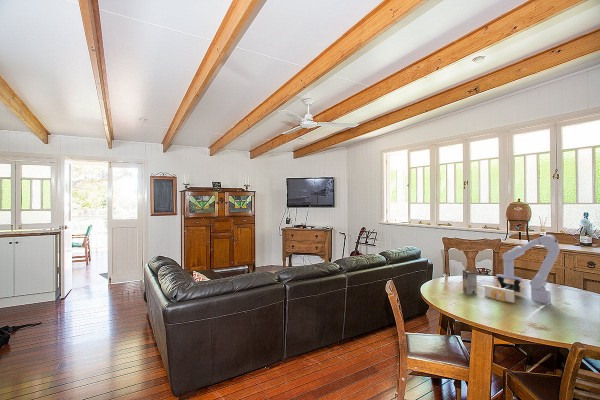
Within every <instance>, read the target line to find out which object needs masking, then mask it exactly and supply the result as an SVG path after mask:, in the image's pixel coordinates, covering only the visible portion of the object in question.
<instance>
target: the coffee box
mask: <svg viewBox="0 0 600 400" xmlns="http://www.w3.org/2000/svg"><path fill="white" fill-rule="evenodd" d="M477 279H478V277H477V272H475V271H473V270H470V269H467V270H465V269H463V270H462V293H464V294H465V293H466V294H467V295H478V293H477V291H478V289H477V288H478V287H477V286H478V285H477V283H478V282H477V281H478V280H477Z"/></svg>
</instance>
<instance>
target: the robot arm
mask: <svg viewBox="0 0 600 400" xmlns="http://www.w3.org/2000/svg"><path fill="white" fill-rule="evenodd" d="M541 245H542V246H544V248H545V249H546V250H547V253H546V256H544V260H543V262H542V263H541V265H540V268H539V270H538V271H537V273H536V275H535V276H534V277H533V278H532V279H531V280H530V281H529V285H530V297H531V301H534V302H537V303H543V304H542V306H546V307H548V306H549V305H551V304H552V299H551V298H552V297H551V296H552V293H551V291H550V290H548V289H546V285H547V279H548V275H549V273H550V272H551V269H552V268H553V266H554V264H555V262H556V260H557V259H558V256H559V254H560V252H561V250H560V245H559V240H558V239H557V238H556V236H555V235H553V234H546V235H541V236H540V237H535V238H534V239H532V240H530V241H529V242H527V243H525V244H523V245H522V246H520V245H517V246H516V245H515V246H513V248H512V249H509V250H507V252H504V253H503V254H502V255H501V259H502V260H503V274H502V273H501V274H498V273H497V274H496V275H495V277H496V278H497V281H498V283H499V285H500V288H504V282H505V281H504V280H505V279H507V280H513V284H514V286H515V288H514V290H515V291H517V288H518V285H520V284H521V282H522V281H523V278H522V277H518V276H515V268H514V267H515V266H514V265H515V261H514V260H515V259H517V258H519V257H521V256H522V255H524V254H525V253H526V251H527V250H529V249H531V248H534V247H535V246H541ZM515 291H514V292H515Z"/></svg>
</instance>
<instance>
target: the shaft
mask: <svg viewBox="0 0 600 400" xmlns="http://www.w3.org/2000/svg"><path fill="white" fill-rule="evenodd" d="M514 288H515V286H514V283H509V282H505V281H504V288H503V289H508V290H513V291H514V293H515V292H516V293H521V292H522V291H521V285H520V284H519V285H518V288H517V291H515V290H514ZM498 291H500V290H498Z"/></svg>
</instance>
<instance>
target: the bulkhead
mask: <svg viewBox="0 0 600 400" xmlns="http://www.w3.org/2000/svg"><path fill="white" fill-rule="evenodd" d="M491 290H496V291H499V290H500V291H501V292H505V301H504V302H507V303H513V304H514V303H515V291H513V290H508V289H503V288H501V287H497V286H492V285H489V284H488V285H487V284H485V285H484V297H486V298H491ZM496 299H499V300H498V301H500V300H501V295H500V294H496V293H495V299H494V300H496Z"/></svg>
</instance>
